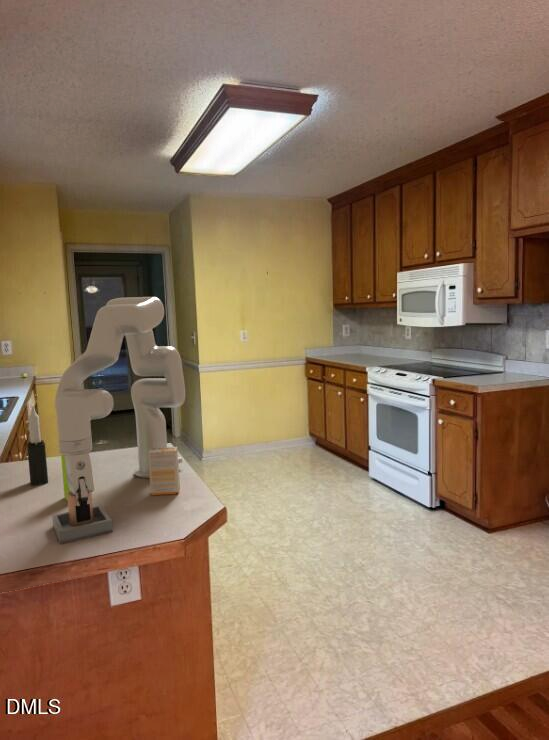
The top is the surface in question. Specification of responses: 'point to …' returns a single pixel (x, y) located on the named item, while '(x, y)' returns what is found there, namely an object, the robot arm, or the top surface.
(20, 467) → the top surface
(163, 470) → the supplement box
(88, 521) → the cup
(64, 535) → the tray
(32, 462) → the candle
